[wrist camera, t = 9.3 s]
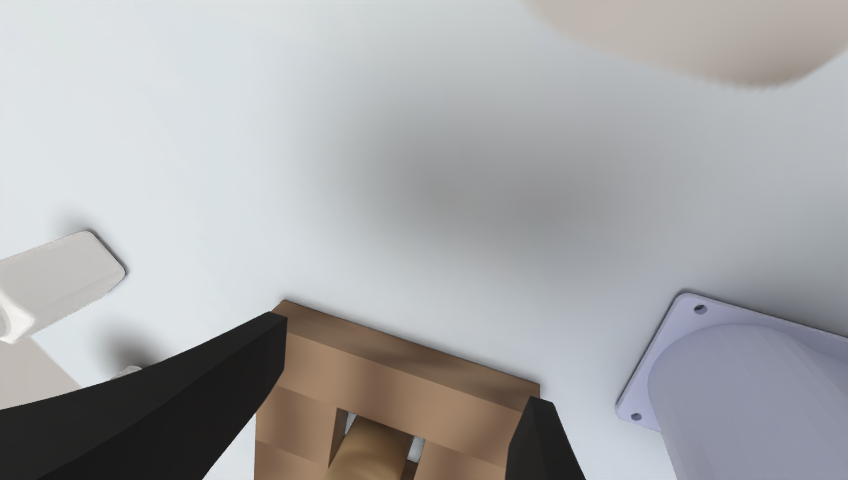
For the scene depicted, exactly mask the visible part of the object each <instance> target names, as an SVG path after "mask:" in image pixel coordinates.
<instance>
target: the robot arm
mask: <svg viewBox="0 0 848 480" xmlns="http://www.w3.org/2000/svg"><path fill="white" fill-rule="evenodd" d="M697 305H704V307H703V308H702V309H700V310H694V308H695V307H696V306H697ZM287 322H288V317H285V316H282V315H279V314H276V313H273V312H270V311H268V312H266V313H264V314H262V315H260V316H258V317H256V318H254V319H252V320H250V321H248V322H246V323H244V324H242V325H240V326H238V327H236V328H234V329H232V330H230V331H228V332H226V333H223V334H221V335H219V336H217V337H215V338H213V339H211V340H209V341H207V342H205V343H203V344H200V345H198V346H196V347H194V348H191V349H189V350H187V351H184V352H182V353H180V354H178V355H175V356H173V357H171V358H168V359H166V360H164V361H161V362H159V363H156V364H154V365H151V366H149V367H146V368H143V369H141V370H138V371H135V372H133V373H130V374H127V375H124V376H121V377H118V378H115V379H112V380H109V381H106V382H103V383H100V384H96V385H93V386H90V387H86V388H83V389H80V390H76V391H73V392H70V393H67V394H63V395H59V396H56V397H52V398H48V399H44V400H40V401H36V402H32V403H28V404H24V405H19V406H15V407H11V408H6V409H2V410H0V480H202V479H203V478H204V477H205V475H206V474H207V472H208V471H209V470H210V468H211V467H212V466H213V465H214V463H215V462H216V461H217V460H218V459H219V457H220V456H221V455H222V454H223V452H224V451H225V450H226V449H227V447H228V446H229V445H230V444H231V442H232V441H233V440H234V439H235V437H236V436H237V435H238V434H239V433H240V431H241V430H242V429H243V428H244V426H245V425H246V424H247V423H248V421H249V420H250V419H251V418H252V416H253V415H254V414H255V413H256V411H257V410H258V409H259V408H260V406H261V405H262V404H263V402H264V401H265V400H266V398H267V397H268V395H269V394H270V392H271V390H272V389H273V387H274V386H275V384H276V382H277V381H278V379H279V378H280V376H281V374H282V373H283V371H284V366H285V351H286V336H287ZM615 409H616V413H617V416H618V417H619V418H621V419H622V420H625V421H628V422H631V423H634V424H637V425H640V426H643V427H646V428H649V429H652V430H655V431H658V432H661V433H662V436H663V439H664V442H665V445H666V448H667V451H668V454H669V456H670V459H671V462H672V465H673V468H674V471H675V474H676V477H677V480H848V338H846V337H842V336H839V335H835V334H832V333H828V332H825V331H821V330H818V329H814V328H811V327H807V326H804V325H800V324H797V323H793V322H790V321H786V320H783V319H779V318H776V317H772V316H769V315H765V314H762V313H758V312H755V311H751V310H748V309H744V308H741V307H737V306H734V305H730V304H727V303H723V302H720V301H716V300H713V299H709V298H706V297H702V296H699V295H695V294H692V293H684V294H681V295H679V296H678V297H677V298H676V299H675V301H674V303H673V305H672V306H671V308H670V310H669V312H668V314H667V315H666V317H665V319H664V321H663V323H662V324H661V326H660V328H659V330H658V331H657V333H656V335H655V337H654V339H653V340H652V342H651V344H650V346H649V348H648V349H647V351H646V353H645V355H644V357H643V358H642V360H641V362H640V364H639V366H638V367H637V369H636V371H635V373H634V375H633V376H632V378H631V380H630V382H629V383H628V385H627V387H626V389H625V391H624V392H623V394H622V396H621V398H620V400H619V401H618V403H617V405H616V408H615ZM634 413H639V414H638V415H632V414H634ZM505 480H586V479H585V477H584V474H583V472H582V470H581V468H580V466H579V464H578V462H577V459H576V457H575V455H574V452H573V450H572V448H571V445H570V443H569V441H568V438H567V436H566V433H565V431H564V429H563V426H562V424H561V421H560V419H559V416H558V413H557V411H556V408H555V406H554V404H553V403H552V402H549V401H546V400H543V399H540V398H537V397H534V396H530V397H529V399H528V402H527V404H526V406H525V409H524V411H523V413H522V416H521V418H520V420H519V423H518V425H517V427H516V430H515V432H514V434H513V437H512V439H511V441H510V444H509V447H508V455H507V463H506V472H505Z"/></svg>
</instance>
